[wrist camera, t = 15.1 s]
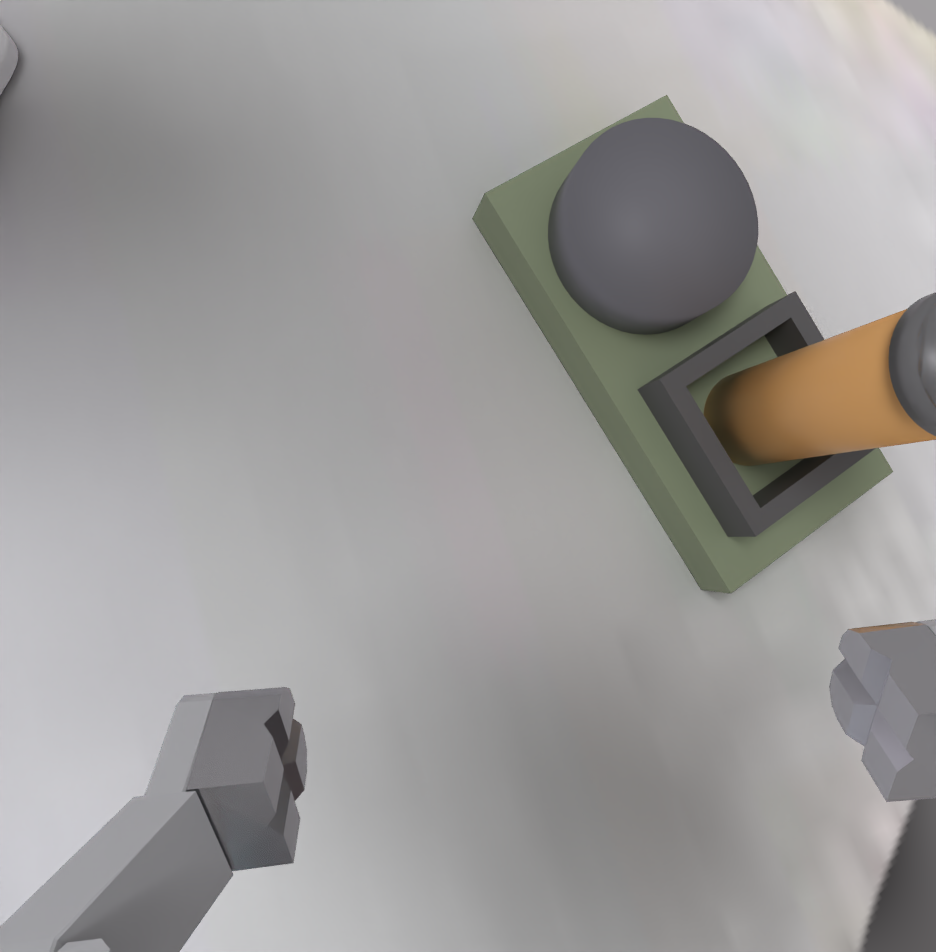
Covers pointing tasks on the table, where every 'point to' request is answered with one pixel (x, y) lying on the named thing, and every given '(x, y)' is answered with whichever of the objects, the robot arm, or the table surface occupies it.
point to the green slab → (669, 329)
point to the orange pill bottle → (834, 393)
